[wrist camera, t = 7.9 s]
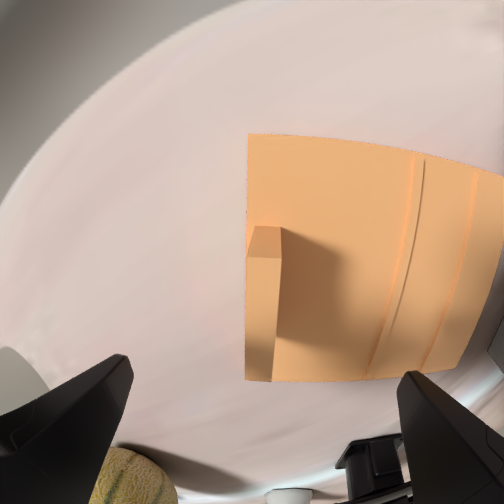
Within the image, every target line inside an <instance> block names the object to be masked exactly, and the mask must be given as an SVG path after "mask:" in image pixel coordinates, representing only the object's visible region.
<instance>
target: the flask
mask: <svg viewBox="0 0 504 504" xmlns="http://www.w3.org/2000/svg"><path fill="white" fill-rule="evenodd" d="M264 495H265V498H266V501H267V504H310V501H311V499H312V496H313V493H312V490H302V489H283V490H272V491H270V492H268V493H266V494H264Z"/></svg>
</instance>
